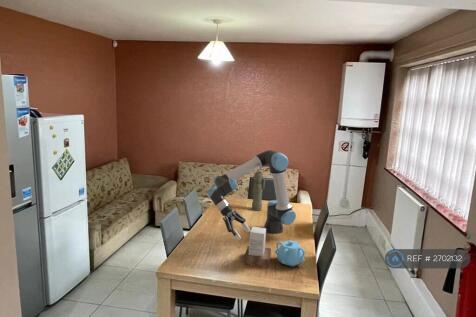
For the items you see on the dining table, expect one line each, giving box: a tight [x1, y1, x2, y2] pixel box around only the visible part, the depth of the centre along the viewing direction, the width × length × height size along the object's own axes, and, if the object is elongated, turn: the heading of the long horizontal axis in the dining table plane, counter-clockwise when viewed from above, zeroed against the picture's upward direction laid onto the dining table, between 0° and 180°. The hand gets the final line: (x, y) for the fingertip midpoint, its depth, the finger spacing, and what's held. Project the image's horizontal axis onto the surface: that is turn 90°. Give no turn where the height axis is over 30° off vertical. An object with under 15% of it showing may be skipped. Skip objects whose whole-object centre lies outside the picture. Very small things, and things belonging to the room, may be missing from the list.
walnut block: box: [243, 245, 272, 269], centre depth 200 cm, size 15×15×6 cm
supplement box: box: [248, 226, 267, 257], centre depth 197 cm, size 9×9×15 cm
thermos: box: [251, 171, 266, 212], centre depth 290 cm, size 9×12×35 cm
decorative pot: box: [275, 240, 306, 267], centre depth 199 cm, size 16×16×14 cm
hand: (244, 235), depth 202 cm, fingers open, 13 cm apart
